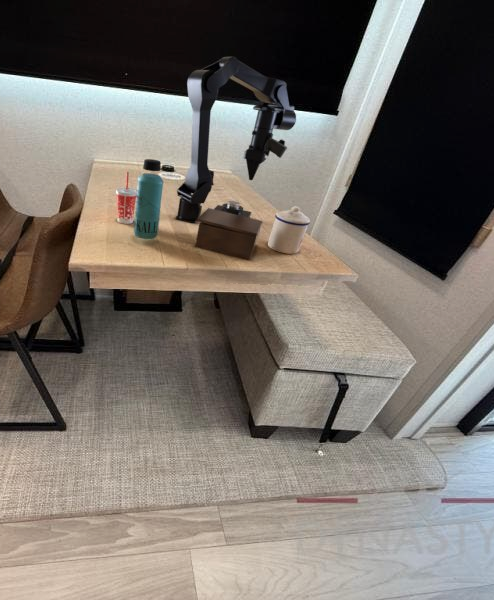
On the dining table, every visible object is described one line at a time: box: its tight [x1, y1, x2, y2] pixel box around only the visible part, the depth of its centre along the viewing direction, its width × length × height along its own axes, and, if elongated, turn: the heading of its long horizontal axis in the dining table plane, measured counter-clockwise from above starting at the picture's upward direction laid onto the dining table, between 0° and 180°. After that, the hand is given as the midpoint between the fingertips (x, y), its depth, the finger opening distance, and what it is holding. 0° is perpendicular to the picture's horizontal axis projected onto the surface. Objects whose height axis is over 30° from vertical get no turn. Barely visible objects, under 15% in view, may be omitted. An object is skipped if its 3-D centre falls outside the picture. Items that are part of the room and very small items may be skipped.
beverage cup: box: [115, 171, 137, 225], centre depth 94 cm, size 6×6×14 cm
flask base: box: [213, 202, 252, 218], centre depth 111 cm, size 12×10×4 cm
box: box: [195, 222, 263, 261], centre depth 88 cm, size 15×12×6 cm
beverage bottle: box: [133, 158, 164, 240], centre depth 81 cm, size 6×7×20 cm
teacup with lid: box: [267, 205, 311, 255], centre depth 91 cm, size 12×9×12 cm
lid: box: [196, 207, 263, 236], centre depth 86 cm, size 15×12×1 cm
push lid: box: [227, 200, 241, 209], centre depth 109 cm, size 4×4×2 cm
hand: (250, 180), depth 110 cm, fingers closed
